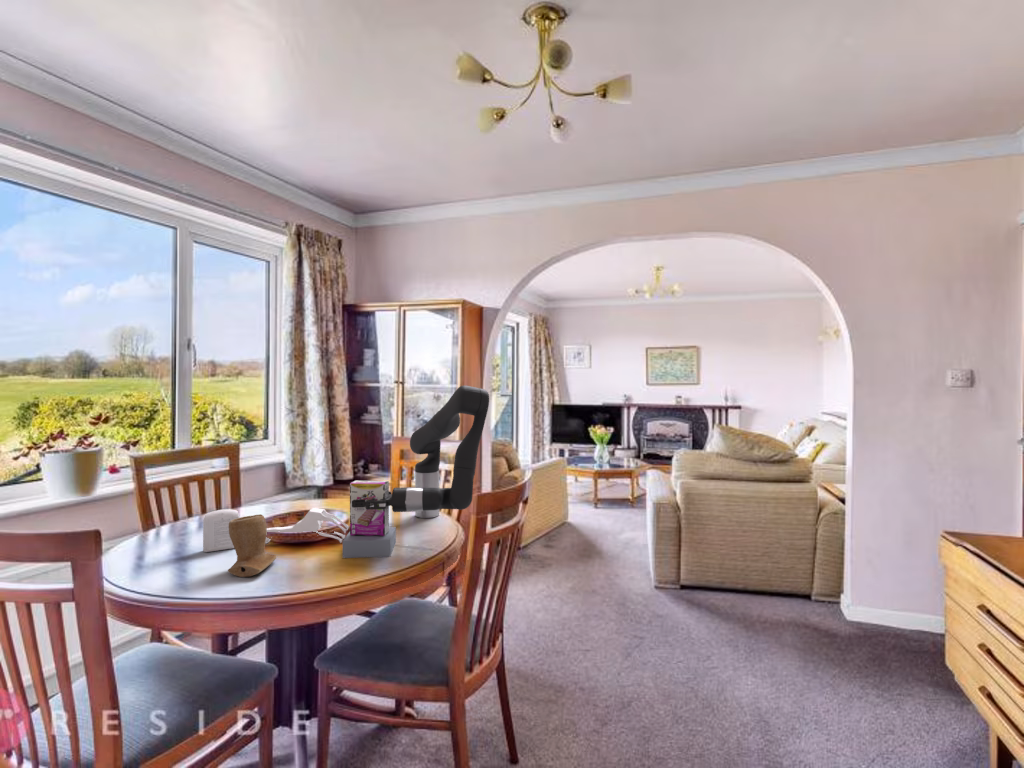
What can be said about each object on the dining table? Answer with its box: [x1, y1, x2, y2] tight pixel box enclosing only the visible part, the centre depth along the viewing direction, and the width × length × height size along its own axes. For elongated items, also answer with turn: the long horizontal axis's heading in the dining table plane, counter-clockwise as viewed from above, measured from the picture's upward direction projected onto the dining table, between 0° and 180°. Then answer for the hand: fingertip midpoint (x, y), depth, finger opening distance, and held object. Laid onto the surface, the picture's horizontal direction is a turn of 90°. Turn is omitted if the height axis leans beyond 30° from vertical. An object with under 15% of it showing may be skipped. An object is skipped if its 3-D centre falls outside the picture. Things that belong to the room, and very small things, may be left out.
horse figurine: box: [265, 507, 350, 545], centre depth 179 cm, size 5×16×25 cm
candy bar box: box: [349, 480, 390, 536], centre depth 170 cm, size 11×5×16 cm, turn 87°
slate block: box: [341, 526, 397, 559], centre depth 170 cm, size 14×14×5 cm
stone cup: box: [227, 514, 277, 578], centre depth 154 cm, size 15×12×15 cm
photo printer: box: [202, 508, 241, 553], centre depth 172 cm, size 10×4×12 cm, turn 123°
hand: (354, 500), depth 170 cm, fingers open, 7 cm apart
